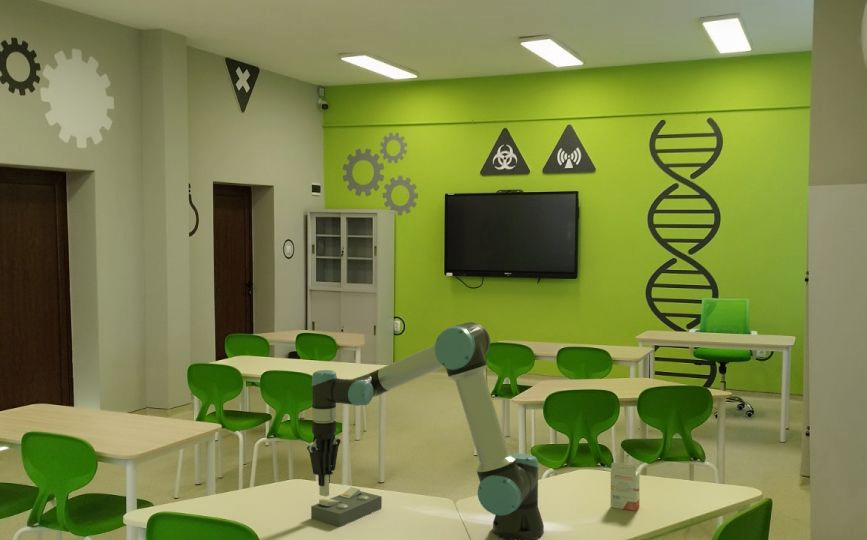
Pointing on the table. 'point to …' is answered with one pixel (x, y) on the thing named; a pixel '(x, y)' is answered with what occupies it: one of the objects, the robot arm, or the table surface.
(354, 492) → the rocker
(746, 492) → the table surface
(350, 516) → the switch panel
